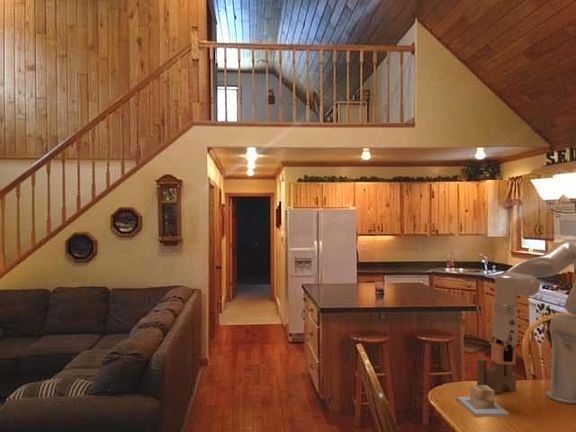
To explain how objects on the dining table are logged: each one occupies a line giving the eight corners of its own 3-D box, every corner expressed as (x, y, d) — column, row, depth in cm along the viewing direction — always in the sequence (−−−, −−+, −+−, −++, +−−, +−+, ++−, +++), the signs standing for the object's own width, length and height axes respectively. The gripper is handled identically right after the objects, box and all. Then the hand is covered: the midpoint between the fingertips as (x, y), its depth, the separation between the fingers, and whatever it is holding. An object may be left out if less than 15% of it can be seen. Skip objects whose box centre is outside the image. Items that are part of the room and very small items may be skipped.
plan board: (487, 399, 196) (487, 396, 196) (508, 415, 181) (509, 412, 180) (456, 399, 195) (456, 396, 195) (475, 416, 179) (475, 413, 179)
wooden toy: (501, 385, 213) (503, 324, 212) (516, 390, 207) (517, 327, 206) (475, 390, 205) (476, 327, 205) (488, 396, 200) (490, 331, 199)
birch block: (485, 401, 191) (486, 385, 191) (493, 407, 185) (494, 390, 185) (470, 401, 191) (470, 385, 191) (477, 407, 185) (478, 391, 185)
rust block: (506, 359, 191) (507, 343, 191) (515, 364, 185) (516, 347, 185) (490, 359, 190) (491, 343, 190) (499, 364, 184) (500, 347, 184)
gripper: (528, 314, 179) (526, 366, 179) (502, 304, 196) (500, 352, 196) (507, 313, 178) (505, 365, 178) (483, 304, 196) (481, 352, 196)
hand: (503, 358), depth 187 cm, fingers closed on rust block, 6 cm apart
